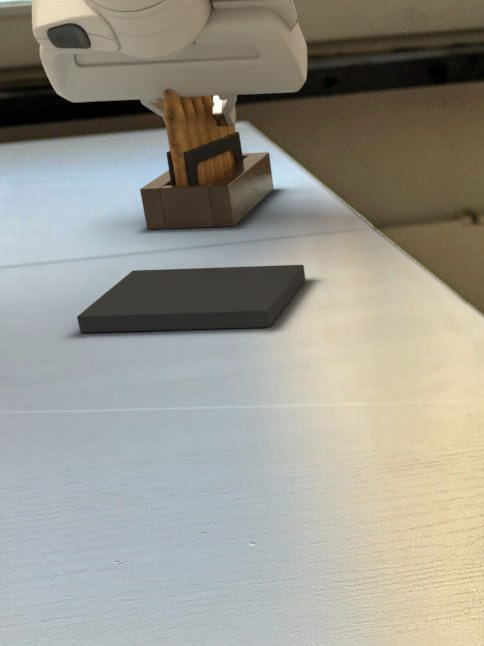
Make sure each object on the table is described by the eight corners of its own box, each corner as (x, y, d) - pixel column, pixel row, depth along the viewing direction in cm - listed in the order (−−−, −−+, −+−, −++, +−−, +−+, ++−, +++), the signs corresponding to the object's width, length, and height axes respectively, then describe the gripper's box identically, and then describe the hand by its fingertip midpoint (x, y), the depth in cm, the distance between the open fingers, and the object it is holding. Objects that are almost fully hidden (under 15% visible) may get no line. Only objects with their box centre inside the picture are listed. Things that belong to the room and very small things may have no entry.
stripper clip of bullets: (230, 196, 120) (207, 38, 113) (249, 196, 119) (227, 38, 112) (175, 221, 111) (148, 53, 104) (196, 221, 111) (169, 52, 104)
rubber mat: (80, 333, 84) (76, 316, 83) (135, 285, 93) (132, 270, 93) (269, 327, 83) (267, 310, 82) (305, 279, 92) (303, 264, 92)
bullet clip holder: (147, 229, 109) (139, 189, 107) (195, 192, 122) (190, 155, 120) (234, 226, 109) (228, 185, 107) (273, 189, 121) (269, 152, 120)
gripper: (289, -58, 98) (327, 80, 111) (17, -42, 100) (87, 91, 113) (285, 20, 97) (324, 149, 110) (11, 34, 99) (82, 159, 112)
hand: (202, 120), depth 112 cm, fingers open, 3 cm apart
